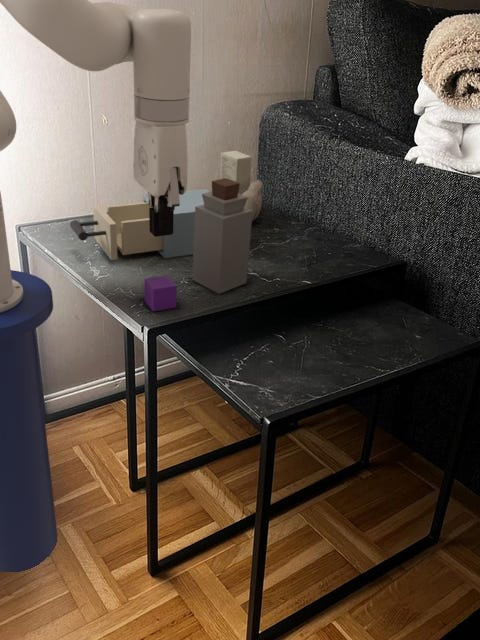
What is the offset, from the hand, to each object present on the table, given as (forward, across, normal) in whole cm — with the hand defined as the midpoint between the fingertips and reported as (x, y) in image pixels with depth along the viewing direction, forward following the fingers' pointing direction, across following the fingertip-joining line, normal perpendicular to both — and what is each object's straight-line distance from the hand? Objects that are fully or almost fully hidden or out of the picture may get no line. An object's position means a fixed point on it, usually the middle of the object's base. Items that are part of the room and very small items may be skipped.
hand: (161, 233), depth 93 cm
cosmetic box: (+12, -38, +33) cm, 52 cm away
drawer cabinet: (+12, -22, +14) cm, 29 cm away
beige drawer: (+11, -22, +1) cm, 25 cm away
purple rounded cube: (+12, 0, 0) cm, 12 cm away
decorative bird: (+12, -28, +31) cm, 43 cm away
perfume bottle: (+12, -4, +13) cm, 18 cm away
